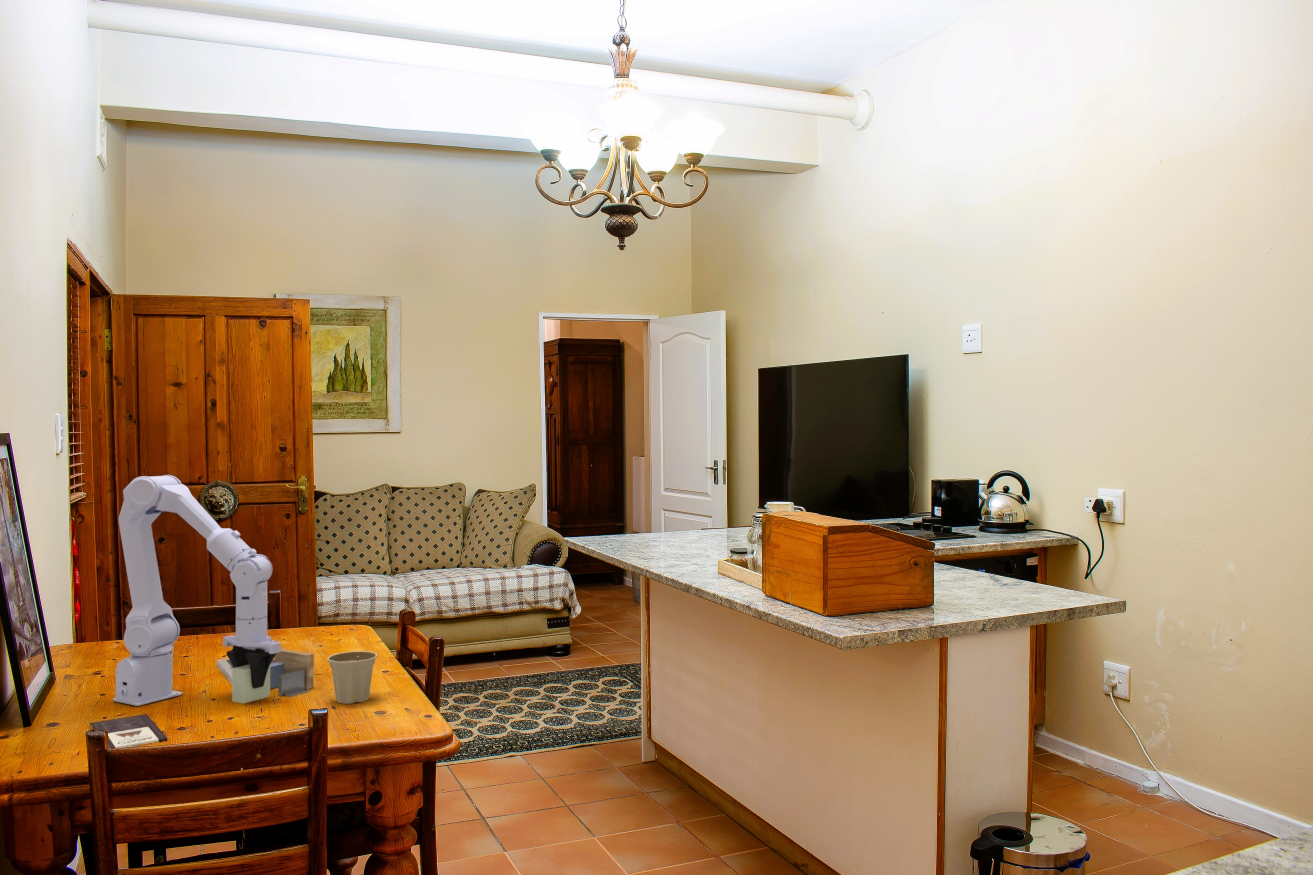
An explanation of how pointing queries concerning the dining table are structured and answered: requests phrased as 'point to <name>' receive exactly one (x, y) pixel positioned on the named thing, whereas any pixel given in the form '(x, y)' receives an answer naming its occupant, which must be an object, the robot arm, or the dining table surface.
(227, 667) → the picture frame
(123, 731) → the chocolate bar
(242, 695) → the beige rectangular block
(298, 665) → the shelf wall
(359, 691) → the flower pot
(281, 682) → the bookend
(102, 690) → the dining table surface
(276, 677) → the shelved books
